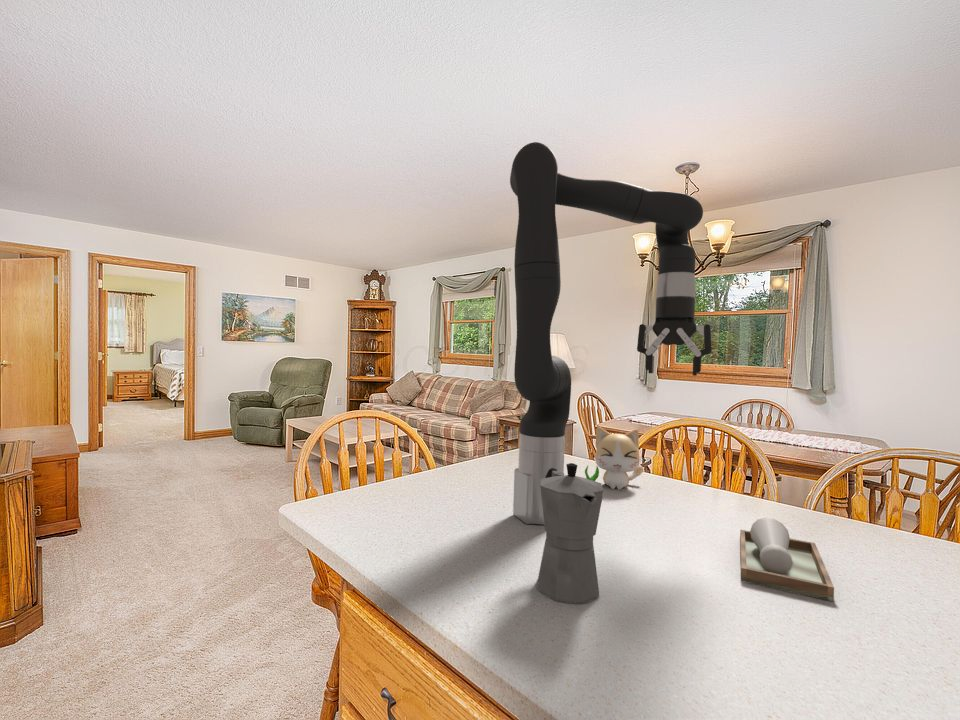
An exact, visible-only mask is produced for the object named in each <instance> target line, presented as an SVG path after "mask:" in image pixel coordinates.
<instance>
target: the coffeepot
mask: <svg viewBox="0 0 960 720" xmlns="http://www.w3.org/2000/svg"><path fill="white" fill-rule="evenodd" d="M577 469H578V464H576V463H573V462H571V463H566V471H567V475H566V474H565V473H563V472H561V471H558V470H557V469H555V468H551V469H549V470H548V472H547V474H546V477H545V478H543V479H541V483H540V488H541V497H542V506H543V516H544V531H545V532H546V534H545V541H544V545H543V551H542V556H541V562H540V567H539V571H538V577H537V587H536V588H537V590H538V591H539V592H540V593H541V594H542V595H544V596H545V597H547V598H548V599H550V600H553V601H557V602H560V603H562V604H563V603H564V604H572V605H574V604H575V605H577V604H584V603H585V604H586V603H590V602H592V601H594V600H596V598H597V597H599V596H600V588H599V580H598V573H597V564H596V554H595V547H594V537H595V536H596V534H597V529H598V528H597V527H598V522H599V518H600V513H601V506H602V502H603V497H604V492H605V491H604V487H603V484H602V483H601V482H599V481H596V480H595V481H592V480H589V479H586V477H582V476H578V475H576V473H577Z"/></svg>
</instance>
